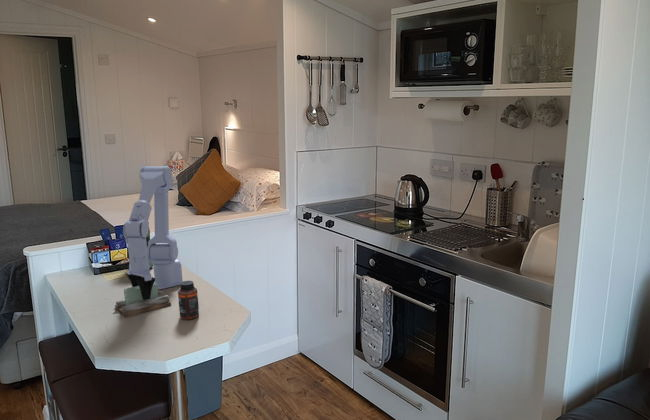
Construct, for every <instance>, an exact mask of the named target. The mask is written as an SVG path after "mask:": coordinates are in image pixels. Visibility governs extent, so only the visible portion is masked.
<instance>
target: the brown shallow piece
mask: <svg viewBox="0 0 650 420" xmlns="http://www.w3.org/2000/svg"><path fill="white" fill-rule="evenodd" d="M171 305H172V302H171V301H170V297H169V295H168V294H164V295H163V292H162V289H161V290H159V289H158V297H157V298H153V299H149V300H145V301H142V302H138V303H134V304H130V305H126V306H125V298H123V299H120V300H116V301H115V304H114V308H115V309H116V310H117V311H118V312H119V313H120V314H121V315H122V316H124V317H125V318H129V317H133V316H136V315H139V314H143V313H146V312H147V313H148V312H150V311H154V310H158V309H161V308H165V307H166V308H167V307H168V306H171Z"/></svg>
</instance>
